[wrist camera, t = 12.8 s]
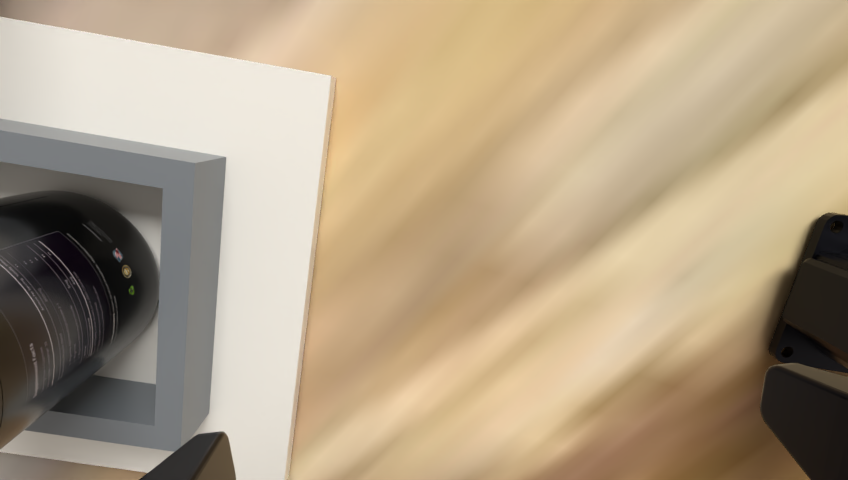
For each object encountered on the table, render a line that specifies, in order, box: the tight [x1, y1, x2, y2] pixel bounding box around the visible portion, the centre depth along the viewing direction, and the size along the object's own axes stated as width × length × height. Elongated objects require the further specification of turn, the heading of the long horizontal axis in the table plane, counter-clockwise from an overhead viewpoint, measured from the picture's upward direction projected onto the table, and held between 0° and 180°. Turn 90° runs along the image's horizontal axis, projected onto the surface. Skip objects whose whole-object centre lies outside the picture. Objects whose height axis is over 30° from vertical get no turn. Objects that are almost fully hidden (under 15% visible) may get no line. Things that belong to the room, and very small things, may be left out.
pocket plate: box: [0, 17, 336, 480], centre depth 18 cm, size 18×18×4 cm
